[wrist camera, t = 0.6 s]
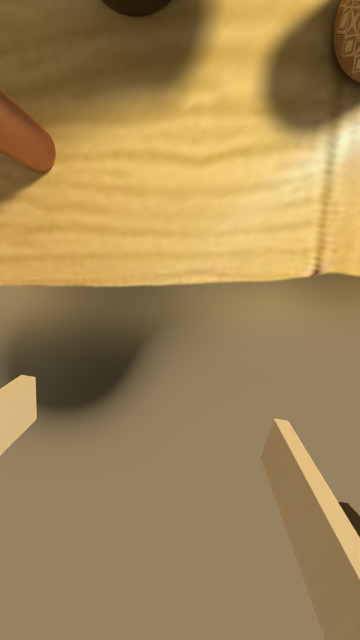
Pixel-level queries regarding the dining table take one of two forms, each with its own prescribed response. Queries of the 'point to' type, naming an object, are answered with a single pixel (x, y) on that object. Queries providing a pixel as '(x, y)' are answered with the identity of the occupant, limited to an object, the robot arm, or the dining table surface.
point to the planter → (348, 37)
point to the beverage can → (24, 137)
